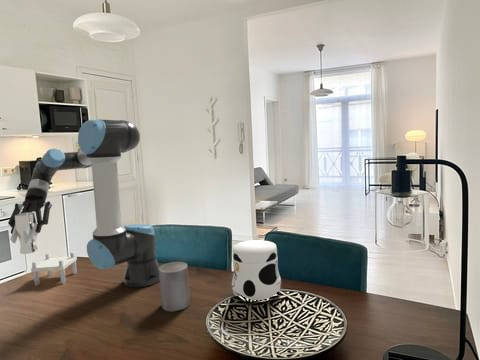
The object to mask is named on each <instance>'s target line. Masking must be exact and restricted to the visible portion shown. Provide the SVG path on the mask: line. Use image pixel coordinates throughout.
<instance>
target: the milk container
mask: <svg viewBox="0 0 480 360" xmlns="http://www.w3.org/2000/svg"><path fill="white" fill-rule="evenodd" d="M278 265H279V260H278V248H277V244H276V243H274V242H273V241H269V240H264V239H263V240H260V239H257V240H256V239H255V240H254V239H253V240H245V241H241V242H237V243H236V244H234V245H233V247H232V267H233V273H232V279H231V288H232V293H233V295H234V296H235V297H236V295H242V296H243V297H245V298H248V299H251V300H264V299H267V298H270V297H272V296H273V295H275V294H276V293H277V292H278V291H279V290H280V291H281V290H282V279H281V276H280V275H281V274H280V272H279V266H278Z"/></svg>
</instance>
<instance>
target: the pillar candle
mask: <svg viewBox="0 0 480 360" xmlns="http://www.w3.org/2000/svg"><path fill="white" fill-rule="evenodd" d="M159 278H160V281H159V287H160V299H161V308H162V310H164V311H165V312H171V313H173V312H177V311H182V310H185V309H187V308H188V307H189V306H190V305H191V292H190V284H189V283H190V282H189V281H190V280H189V268H188V264H187V262H185V261H184V262H183V261H171V262H168V263H164V264H161V265H159Z"/></svg>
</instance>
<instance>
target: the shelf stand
mask: <svg viewBox="0 0 480 360" xmlns="http://www.w3.org/2000/svg"><path fill="white" fill-rule="evenodd" d="M69 253H70V256H59V257H52V256H51V253H45V259H44V260H43V259H42V261H40V262H37V261H34V262H32V263H31V265H32V267H31V268H30V271H31V273H32V275H33V282H34V286H39V285H41V283H40V275H39V272H47V276H48V277H51V276H53V271H59V277H60V284H61V285H64V284H66V283H67V281H66V270H65V269H66V268H68V267H70V266H71V271H72V272H71V273H72V275H76V274H77V273H78V270H77V260H78V258H77V255H76V253H75V251H71V252H69Z"/></svg>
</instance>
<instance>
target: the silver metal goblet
mask: <svg viewBox="0 0 480 360" xmlns="http://www.w3.org/2000/svg"><path fill="white" fill-rule="evenodd" d="M20 213H21V212H20ZM36 221H37V218H36V213H35V212H29V213H21V214H17V215H15V227H16V232H17V235H18V237H17V239H18V242H19V246H20V249H19V253H20V254H21V255H27V254H32V253H35V252H38V250H39V249H38V248H39V247H38V245H37V242H36V241H35V242H33V240H32V239H31V235H32V231H33V228H34V226H35V223H37V222H36Z"/></svg>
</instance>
